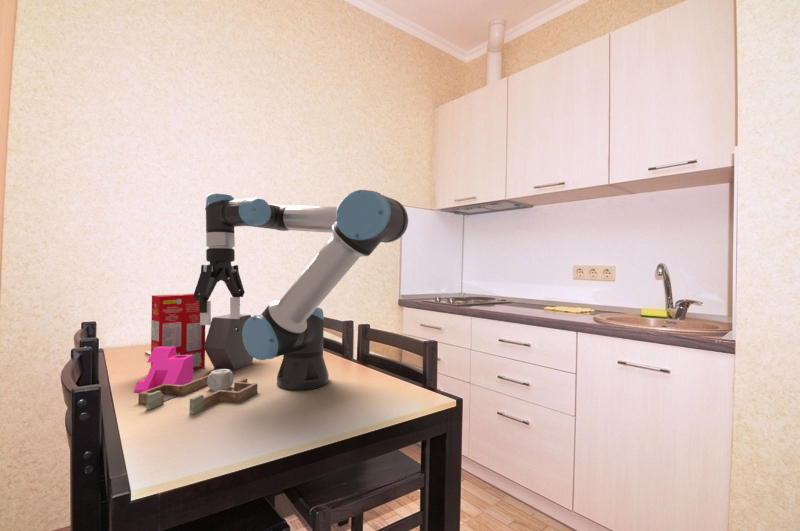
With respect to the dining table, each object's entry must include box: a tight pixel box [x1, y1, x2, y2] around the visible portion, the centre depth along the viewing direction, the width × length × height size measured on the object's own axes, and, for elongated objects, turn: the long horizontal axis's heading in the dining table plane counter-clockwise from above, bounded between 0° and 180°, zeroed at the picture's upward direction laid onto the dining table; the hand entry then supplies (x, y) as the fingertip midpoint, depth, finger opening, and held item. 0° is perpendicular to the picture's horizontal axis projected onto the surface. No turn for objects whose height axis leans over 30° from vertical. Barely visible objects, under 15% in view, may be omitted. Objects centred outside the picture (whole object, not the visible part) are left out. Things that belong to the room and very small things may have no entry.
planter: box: [204, 313, 254, 371], centre depth 140 cm, size 17×8×21 cm
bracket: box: [133, 346, 194, 393], centre depth 116 cm, size 12×10×10 cm
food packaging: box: [150, 293, 206, 371], centre depth 133 cm, size 15×5×25 cm, turn 145°
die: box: [207, 369, 235, 392], centre depth 115 cm, size 5×5×5 cm
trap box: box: [137, 374, 258, 415], centre depth 107 cm, size 24×22×4 cm
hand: (221, 321), depth 117 cm, fingers open, 13 cm apart
